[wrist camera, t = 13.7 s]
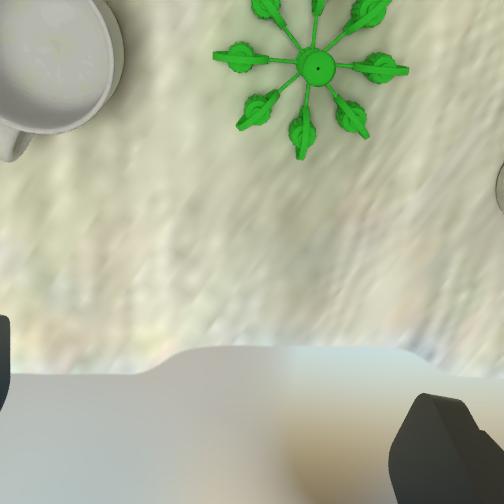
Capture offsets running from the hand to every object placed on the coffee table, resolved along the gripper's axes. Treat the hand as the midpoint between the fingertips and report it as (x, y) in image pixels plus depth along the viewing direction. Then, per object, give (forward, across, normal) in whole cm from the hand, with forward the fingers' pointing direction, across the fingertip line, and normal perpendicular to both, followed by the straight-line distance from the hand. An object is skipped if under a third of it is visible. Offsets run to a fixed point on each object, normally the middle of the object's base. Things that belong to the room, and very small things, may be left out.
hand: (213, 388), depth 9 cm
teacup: (+33, +15, 0) cm, 37 cm away
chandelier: (+34, -4, -5) cm, 34 cm away
